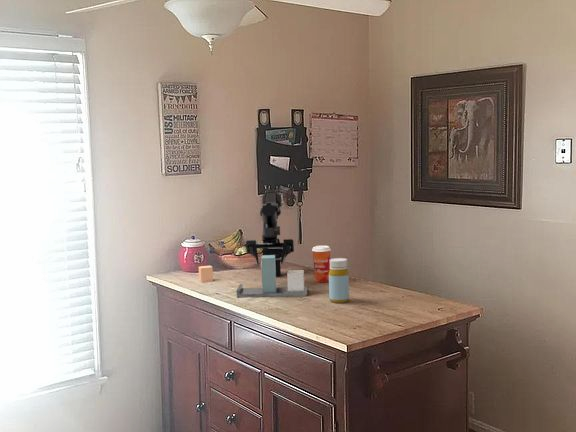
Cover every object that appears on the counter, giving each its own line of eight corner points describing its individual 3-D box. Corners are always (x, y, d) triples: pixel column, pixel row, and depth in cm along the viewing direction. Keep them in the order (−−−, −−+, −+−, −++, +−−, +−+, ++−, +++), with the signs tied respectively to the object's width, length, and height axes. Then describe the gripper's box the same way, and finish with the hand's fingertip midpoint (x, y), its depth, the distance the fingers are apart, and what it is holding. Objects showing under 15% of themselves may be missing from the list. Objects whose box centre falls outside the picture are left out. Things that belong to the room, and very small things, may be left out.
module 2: (262, 288, 264) (261, 255, 263) (276, 288, 264) (275, 255, 262) (261, 292, 258) (260, 258, 257) (275, 292, 258) (274, 257, 256)
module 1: (210, 279, 291) (210, 265, 290) (213, 281, 287) (212, 267, 286) (199, 280, 289) (198, 266, 288) (201, 282, 285) (200, 268, 284)
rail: (236, 297, 257) (235, 275, 256) (240, 291, 267) (239, 270, 266) (306, 296, 255) (305, 274, 254) (307, 289, 265) (306, 268, 264)
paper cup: (310, 282, 278) (309, 248, 276) (316, 278, 285) (315, 244, 283) (328, 283, 275) (327, 248, 273) (334, 279, 282) (333, 245, 281)
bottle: (351, 299, 249) (350, 258, 247) (346, 303, 242) (345, 261, 240) (332, 298, 251) (331, 257, 249) (327, 302, 244) (326, 261, 242)
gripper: (245, 220, 270) (243, 253, 261) (292, 218, 270) (293, 251, 260) (247, 236, 279) (246, 269, 270) (293, 235, 278) (294, 267, 269)
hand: (269, 264), depth 267 cm, fingers open, 9 cm apart
